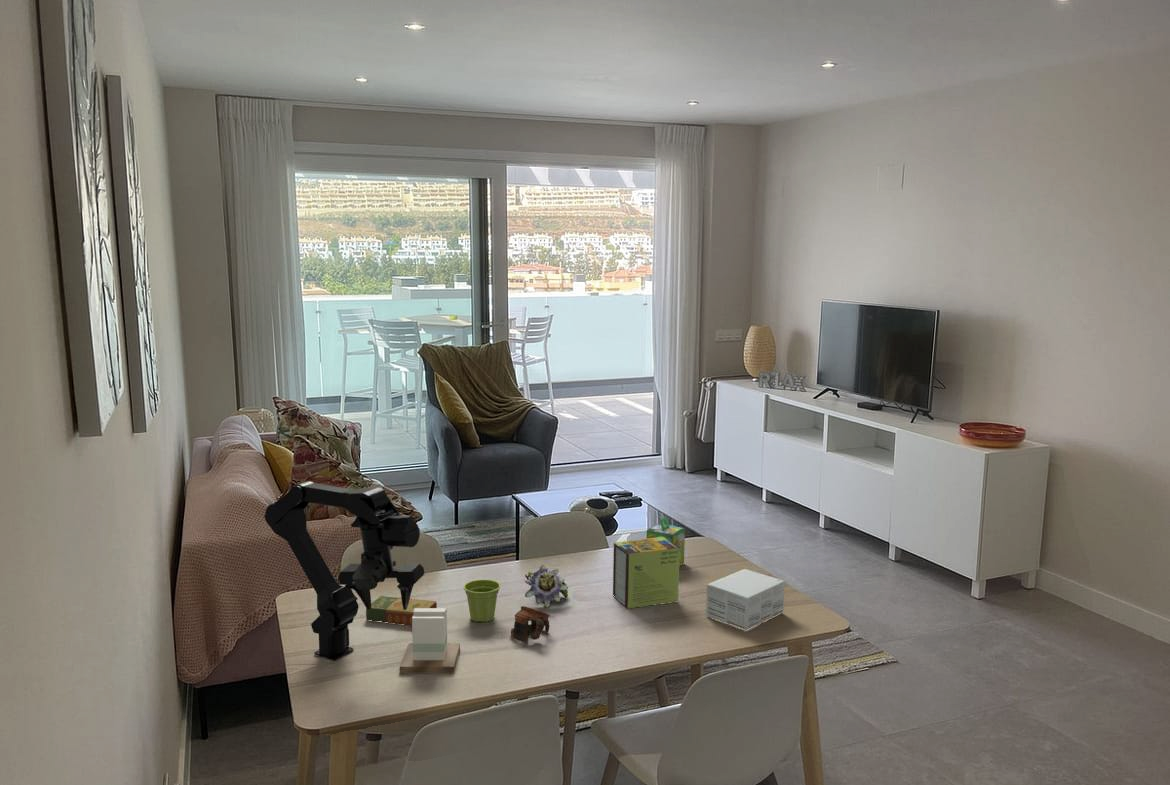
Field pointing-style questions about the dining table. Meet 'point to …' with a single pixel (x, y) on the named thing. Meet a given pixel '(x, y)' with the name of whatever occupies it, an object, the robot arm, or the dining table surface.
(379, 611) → the carton
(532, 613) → the brown blocky piece
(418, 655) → the oat carton
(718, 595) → the supplement box
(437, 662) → the plinth
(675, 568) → the protein box
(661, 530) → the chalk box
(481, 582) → the plant pot
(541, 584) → the passion flower
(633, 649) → the dining table surface
